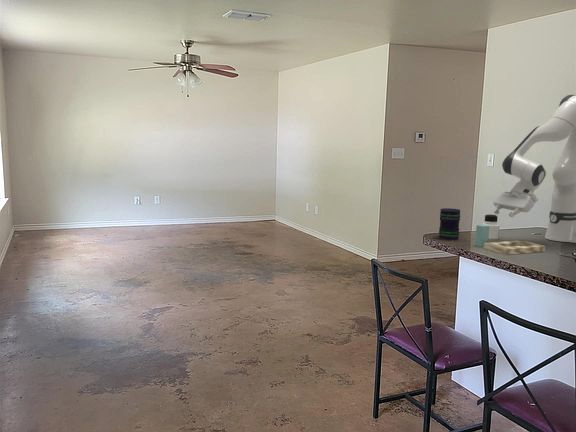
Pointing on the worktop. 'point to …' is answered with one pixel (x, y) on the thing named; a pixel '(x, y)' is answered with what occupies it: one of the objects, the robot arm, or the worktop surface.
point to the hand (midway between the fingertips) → (503, 214)
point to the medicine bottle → (492, 226)
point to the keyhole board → (514, 247)
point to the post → (481, 235)
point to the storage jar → (449, 224)
